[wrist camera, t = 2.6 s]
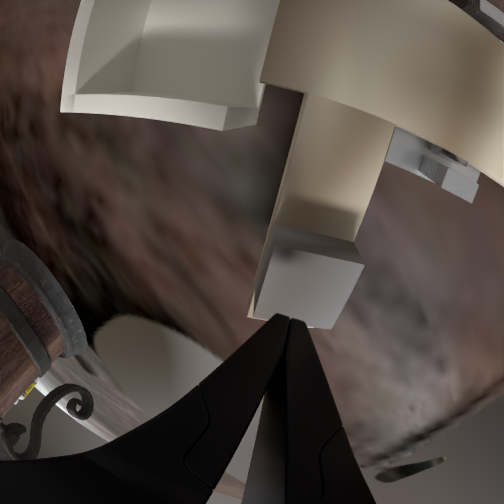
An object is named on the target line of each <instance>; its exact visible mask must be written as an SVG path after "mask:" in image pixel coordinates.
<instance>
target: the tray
mask: <svg viewBox="0 0 504 504" xmlns="http://www.w3.org/2000/svg"><path fill="white" fill-rule="evenodd" d="M279 2H280V0H81V3H80V6H79V10H78V13H77V17H76V21H75V24H74V28H73V32H72V37H71V41H70V46H69V51H68V56H67V62H66V68H65V74H64V81H63V89H62V98H61V109H60V112H76V113H96V114H110V115H121V116H131V117H140V118H148V119H156V120H163V121H170V122H176V123H183V124H189V125H194V126H200V127H205V128H210V129H215V130H220V131H225V130H230V129H235V128H240V127H245V126H251V125H256V124H257V120H258V116H259V111H260V107H261V103H262V99H263V95H264V90H265V86H266V84H262V83H260V82H259V80H260V76H261V72H262V68H263V64H264V60H265V56H266V52H267V48H268V44H269V40H270V36H271V32H272V28H273V25H274V21H275V17H276V13H277V10H278V6H279Z"/></svg>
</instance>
